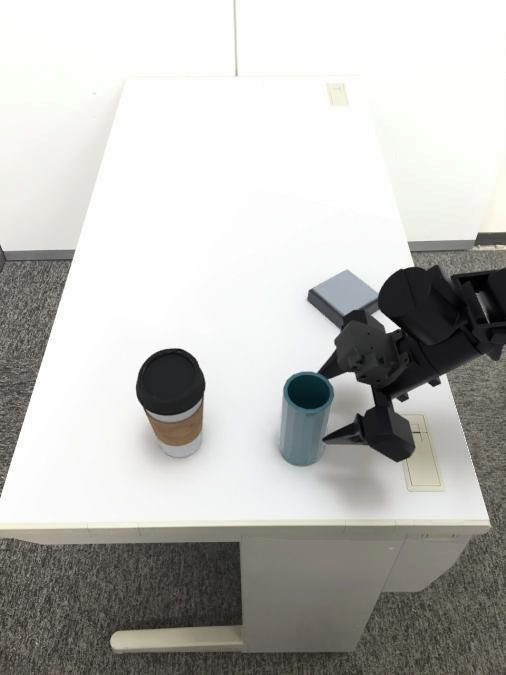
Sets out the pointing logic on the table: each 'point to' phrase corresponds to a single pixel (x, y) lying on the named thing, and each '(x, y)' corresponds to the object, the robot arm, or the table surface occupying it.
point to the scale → (343, 297)
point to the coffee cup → (173, 399)
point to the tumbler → (305, 417)
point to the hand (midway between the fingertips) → (319, 409)
